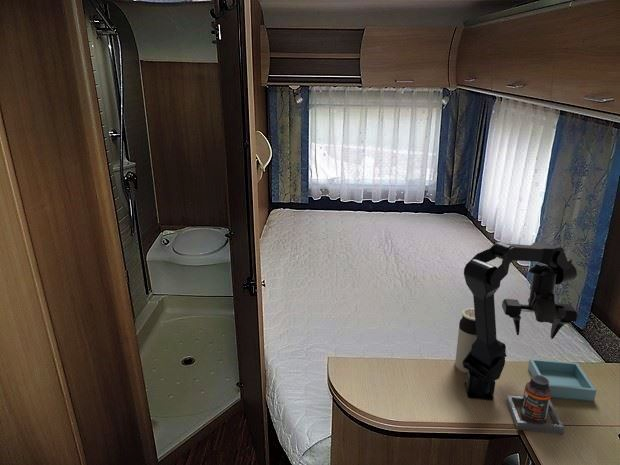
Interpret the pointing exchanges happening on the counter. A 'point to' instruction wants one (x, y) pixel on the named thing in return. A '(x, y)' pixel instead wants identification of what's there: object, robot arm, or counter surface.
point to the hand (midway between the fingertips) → (534, 336)
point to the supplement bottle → (536, 399)
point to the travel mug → (465, 337)
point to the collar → (534, 426)
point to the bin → (564, 379)
